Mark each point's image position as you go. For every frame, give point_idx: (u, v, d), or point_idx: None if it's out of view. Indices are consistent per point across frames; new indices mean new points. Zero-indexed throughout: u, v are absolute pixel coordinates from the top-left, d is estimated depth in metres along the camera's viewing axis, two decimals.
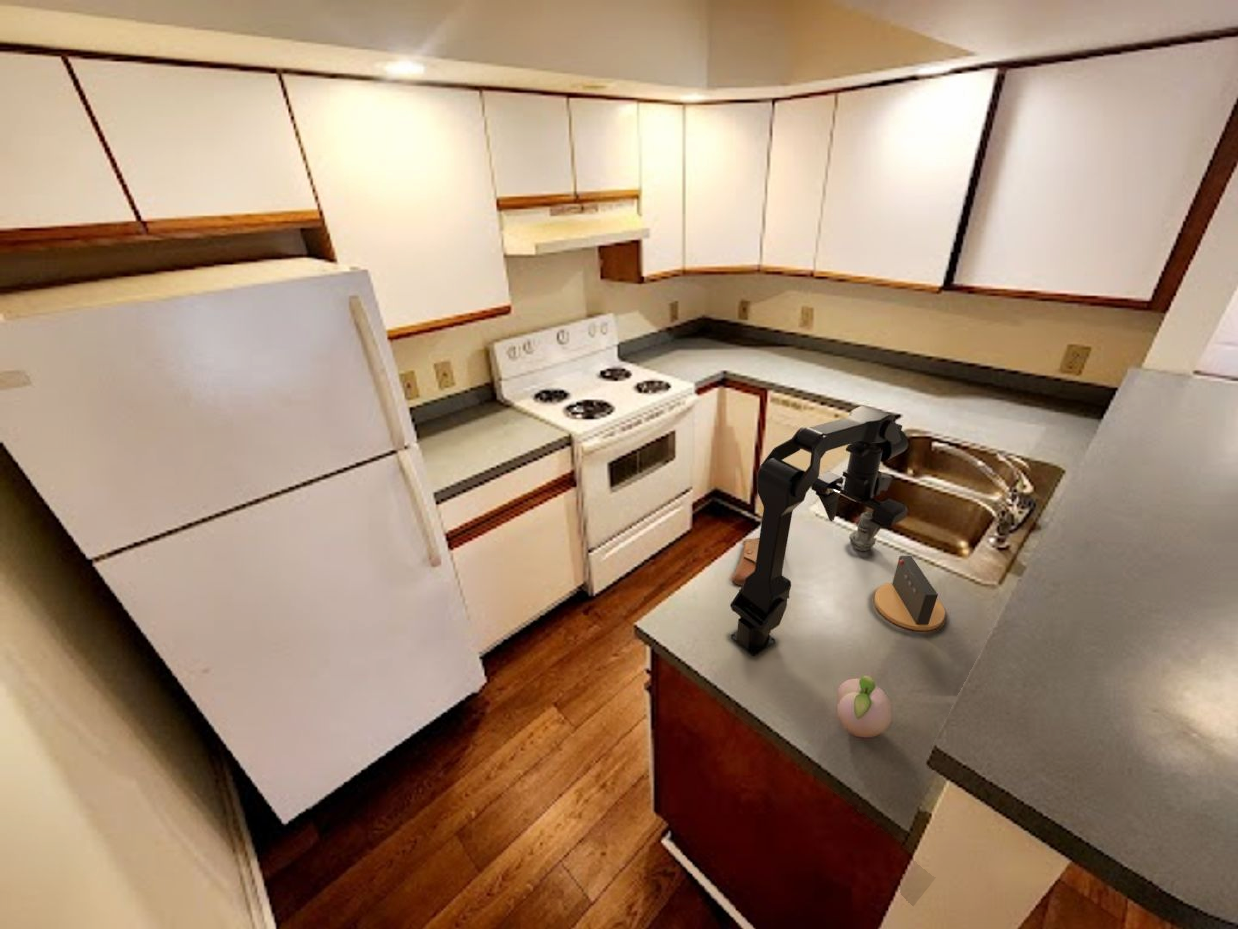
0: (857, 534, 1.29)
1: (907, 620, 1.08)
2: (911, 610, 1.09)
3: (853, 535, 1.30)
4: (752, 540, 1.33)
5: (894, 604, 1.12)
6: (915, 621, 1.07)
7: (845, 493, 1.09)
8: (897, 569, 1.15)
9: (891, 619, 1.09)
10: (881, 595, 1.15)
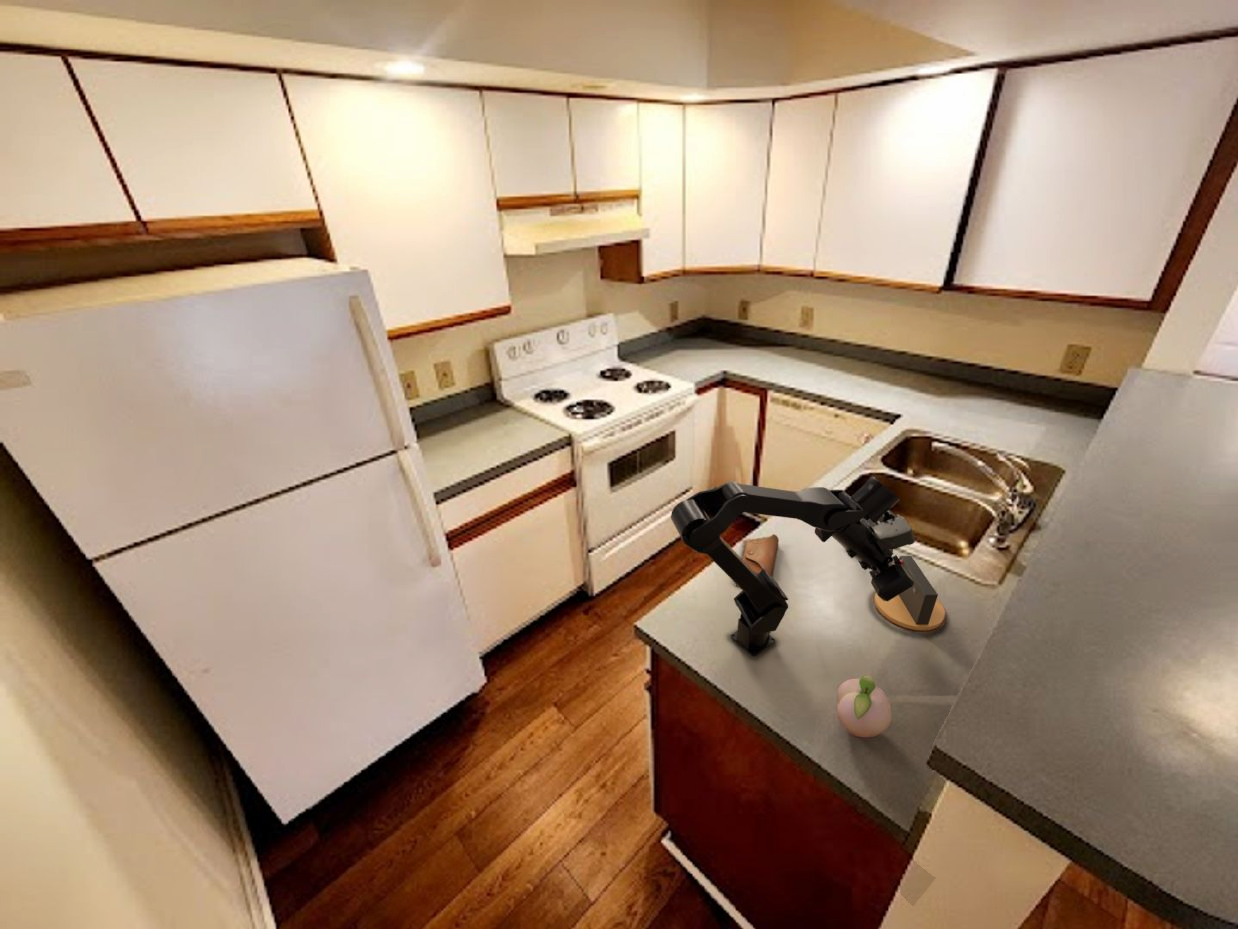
0: None
1: (907, 620, 1.08)
2: (911, 610, 1.09)
3: None
4: (753, 540, 1.33)
5: (894, 604, 1.12)
6: (915, 621, 1.07)
7: None
8: None
9: (891, 619, 1.09)
10: None
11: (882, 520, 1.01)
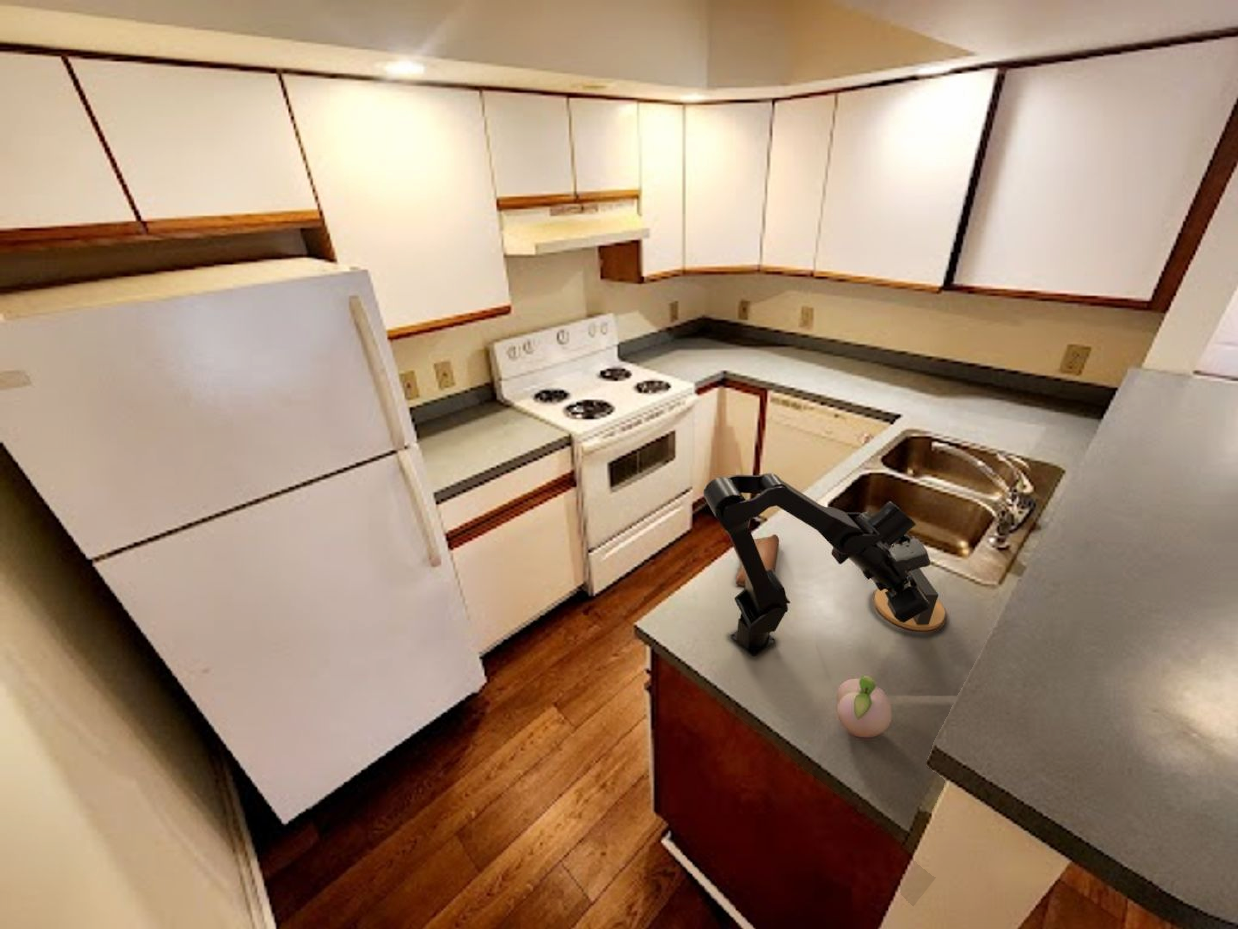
0: None
1: None
2: None
3: None
4: None
5: None
6: (916, 621, 1.07)
7: None
8: None
9: (892, 619, 1.09)
10: (881, 595, 1.15)
11: (898, 542, 1.03)
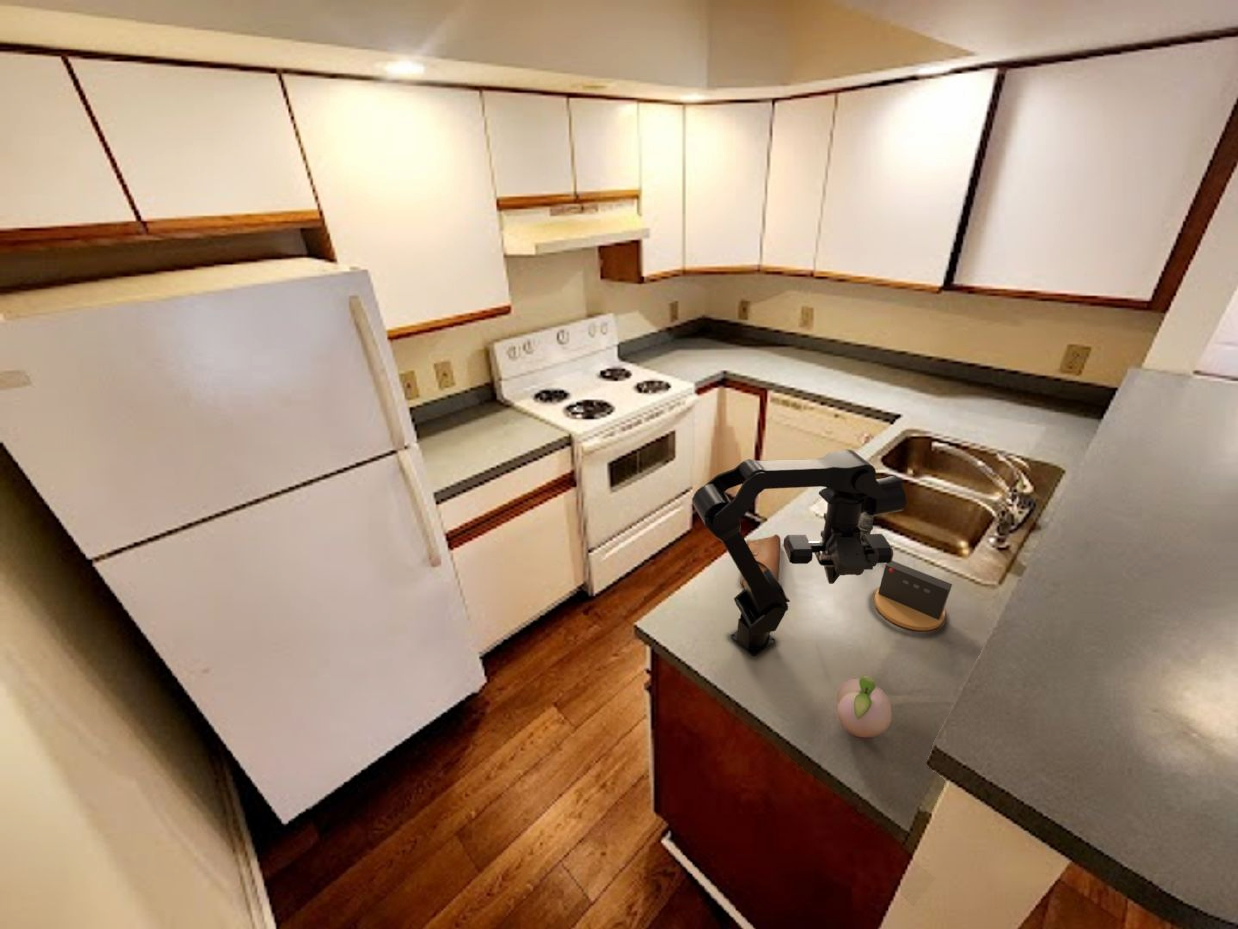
0: None
1: (930, 620, 1.08)
2: (925, 609, 1.09)
3: None
4: (755, 541, 1.33)
5: (905, 612, 1.10)
6: (936, 617, 1.08)
7: None
8: (885, 578, 1.13)
9: (921, 628, 1.07)
10: (889, 610, 1.11)
11: (865, 548, 0.94)
